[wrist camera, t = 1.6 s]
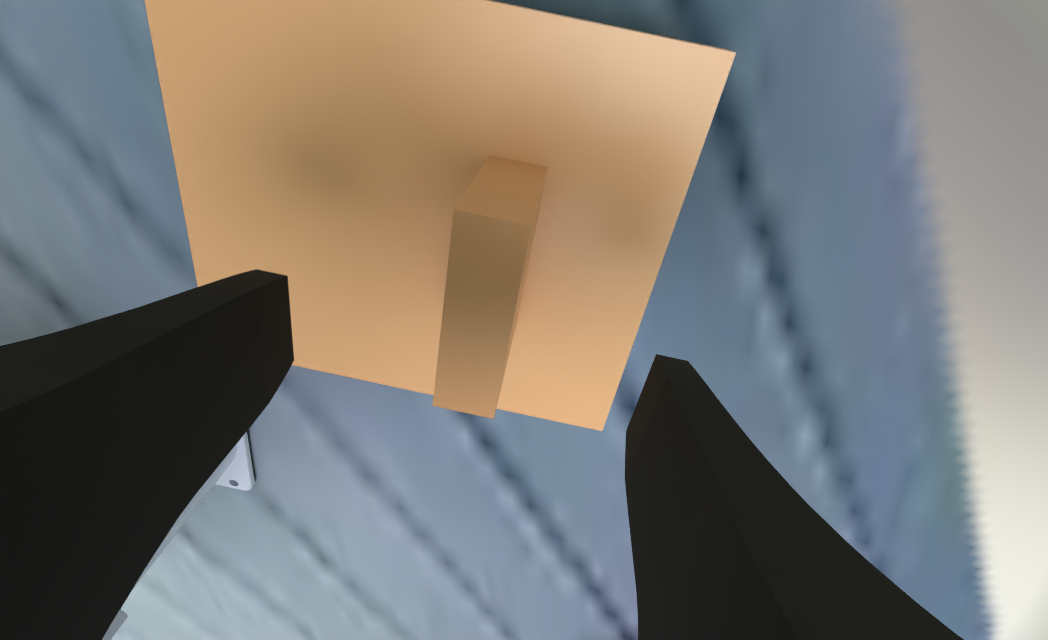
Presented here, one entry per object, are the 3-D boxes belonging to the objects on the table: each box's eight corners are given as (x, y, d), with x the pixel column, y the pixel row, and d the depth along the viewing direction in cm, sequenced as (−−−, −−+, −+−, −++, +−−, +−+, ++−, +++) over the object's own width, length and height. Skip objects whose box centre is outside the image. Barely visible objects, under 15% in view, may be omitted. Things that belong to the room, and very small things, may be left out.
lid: (233, 325, 19) (118, 429, 14) (173, -68, 13) (-62, -104, 8) (601, 403, 19) (603, 533, 14) (723, 47, 13) (795, 75, 8)
